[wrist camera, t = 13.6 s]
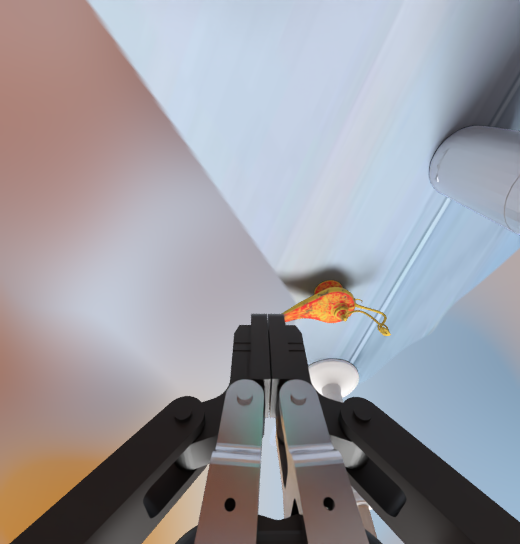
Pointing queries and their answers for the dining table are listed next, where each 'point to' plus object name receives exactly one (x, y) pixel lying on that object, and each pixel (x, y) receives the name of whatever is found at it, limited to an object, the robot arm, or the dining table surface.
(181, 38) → the dining table surface
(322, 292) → the magic lamp
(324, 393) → the candlestick
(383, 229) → the dining table surface
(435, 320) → the dining table surface
